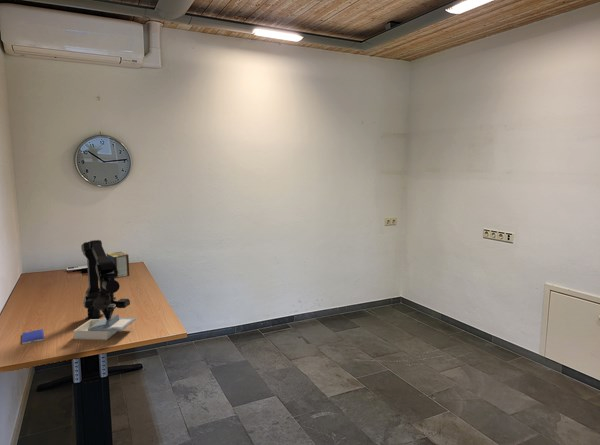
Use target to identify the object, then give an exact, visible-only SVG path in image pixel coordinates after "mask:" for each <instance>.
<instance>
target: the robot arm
mask: <svg viewBox="0 0 600 445" xmlns="http://www.w3.org/2000/svg"><path fill="white" fill-rule="evenodd" d="M80 248H81V252H82V254H83V256H84V257H85V258H86V261H87V263H86V264H87V277H88V278H87V281H88V282H87V283H88V287H87V289H86V291H85V293H84V294H85V295H84V298H83V307H84V308H85V309H87V316H86V317H85V318H84V319H85V320H90V319H100V318H102V317H103V316H104V317H105V318H106V320H109V319H110V318H111V317H113V313H114V312H115V309H116V308H117V309H126V308H127V307H128V306H129V305H131V300H130V299H129V298H120V299H118V300H116V297H115V293H117V292H118V291H119V289H120V288H121V286H120V283H119V281H118V280H116V278H114V277H115V276H118V270H117V267H116V265H115V263H113V261H112V259H111V258H109V257H107V253H106V251H105V250H104V247H103V243H102V241H101V240H100V239H94V240H93V239H92V240H89V241H88V242H87V241H86V242H83V243H82V244H81V247H80ZM113 271H114V273H113ZM108 273H110V274H108ZM101 312H102V314H101Z"/></svg>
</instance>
